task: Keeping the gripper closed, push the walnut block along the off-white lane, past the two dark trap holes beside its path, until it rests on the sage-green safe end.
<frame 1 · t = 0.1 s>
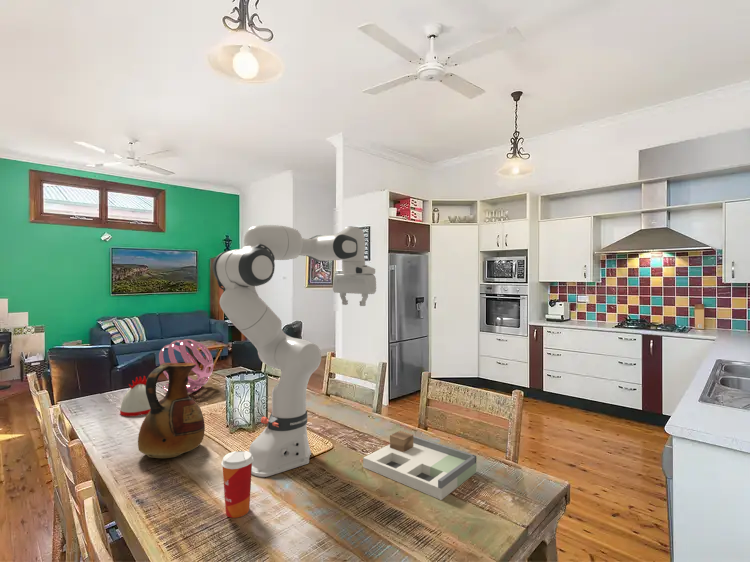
hand: (353, 305, 156), 48 cm above the table, tool pointing down, fingers open, 8 cm apart
paper cup: (237, 512, 101), on the table
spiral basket: (187, 392, 206), on the table
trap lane: (419, 469, 123), on the table
walnut block: (401, 447, 132), point 3 cm above the table, touching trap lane
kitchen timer: (138, 411, 177), on the table
ceramic pitcher: (172, 452, 136), on the table
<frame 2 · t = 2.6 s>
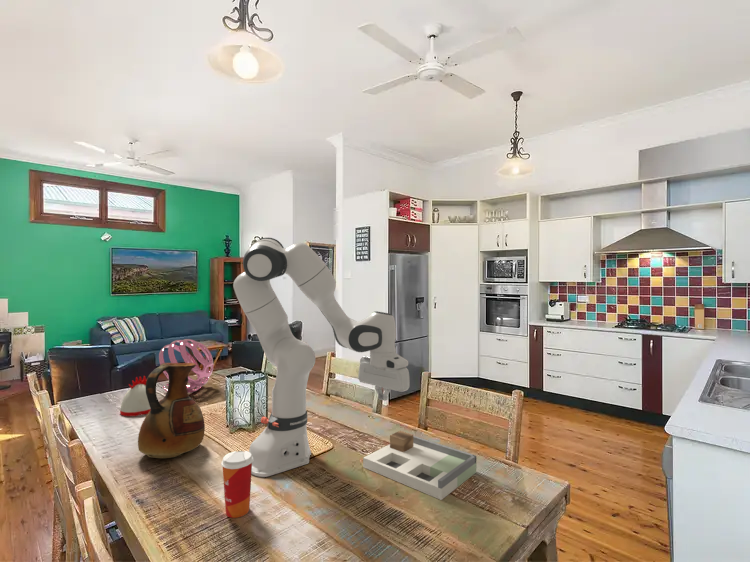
hand: (382, 399, 137), 17 cm above the table, tool pointing down, fingers closed
nothing on the table moved.
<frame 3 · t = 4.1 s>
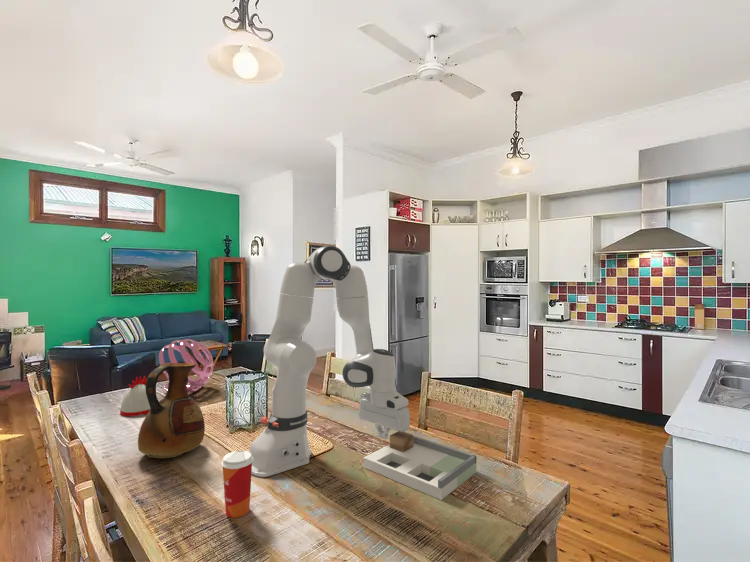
hand: (383, 437, 138), 4 cm above the table, tool pointing down, fingers closed
nothing on the table moved.
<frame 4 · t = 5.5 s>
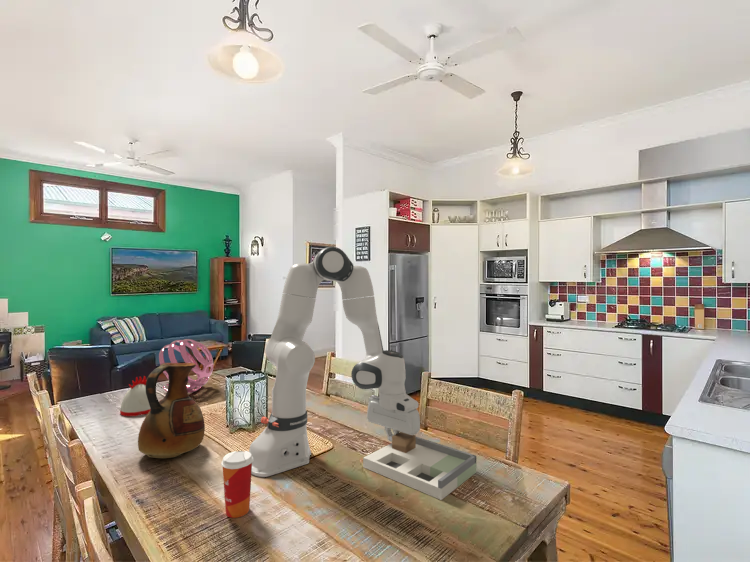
hand: (392, 440, 135), 4 cm above the table, tool pointing down, fingers closed
walnut block: (403, 448, 132), point 3 cm above the table, touching gripper, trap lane
everything else where it was.
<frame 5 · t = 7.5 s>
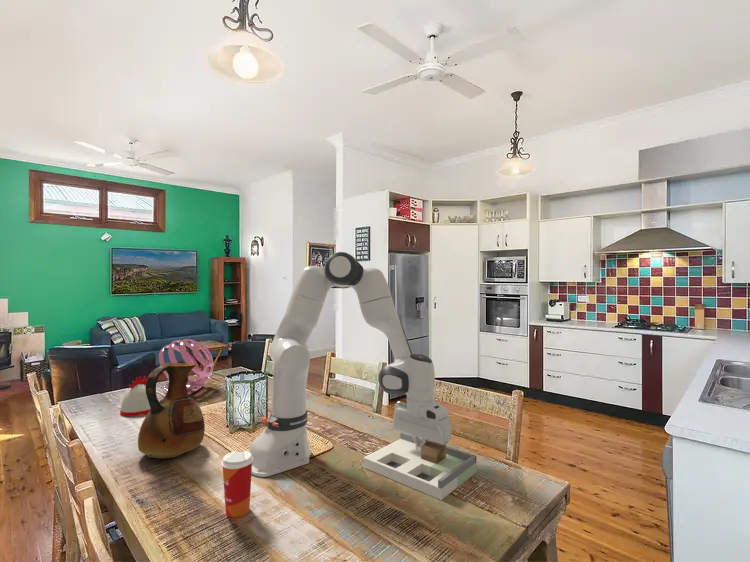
hand: (420, 450, 128), 4 cm above the table, tool pointing down, fingers closed
walnut block: (433, 458, 124), point 3 cm above the table, touching gripper, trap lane
everything else where it was.
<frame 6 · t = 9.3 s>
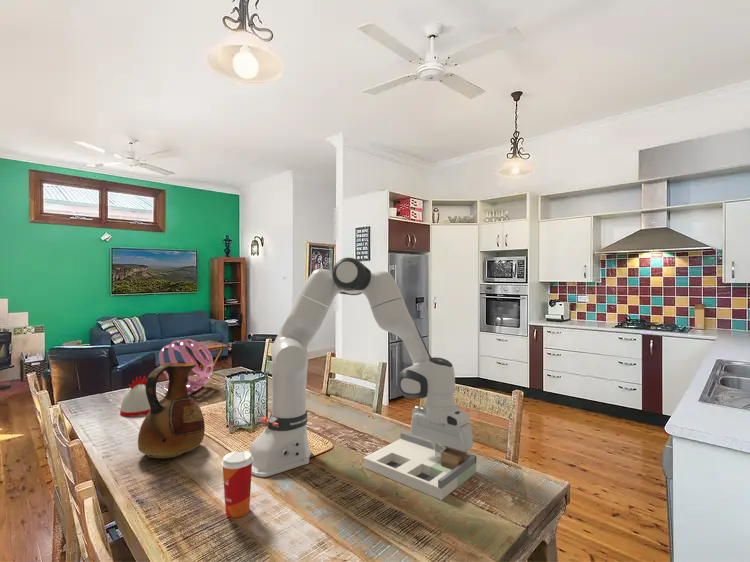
hand: (440, 457, 123), 4 cm above the table, tool pointing down, fingers closed
walnut block: (453, 465, 120), point 3 cm above the table, touching gripper, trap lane
everything else where it was.
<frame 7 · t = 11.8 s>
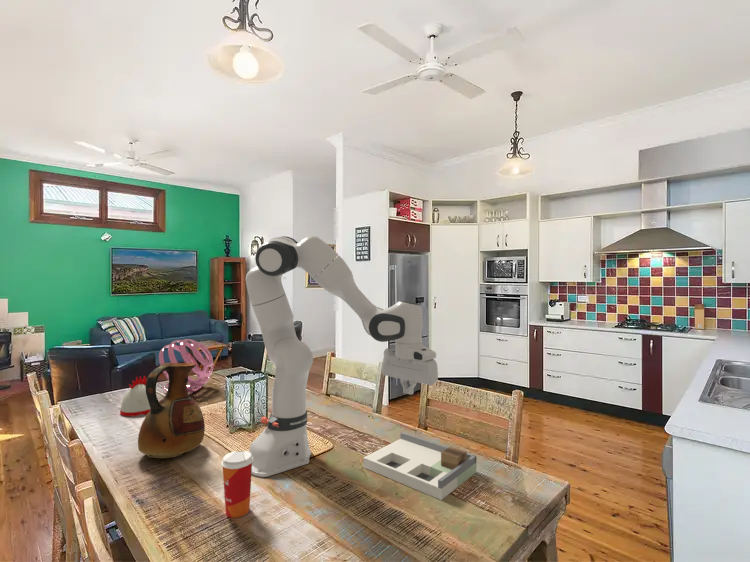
hand: (408, 393, 131), 21 cm above the table, tool pointing down, fingers closed
walnut block: (453, 465, 120), point 3 cm above the table, touching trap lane
everything else where it was.
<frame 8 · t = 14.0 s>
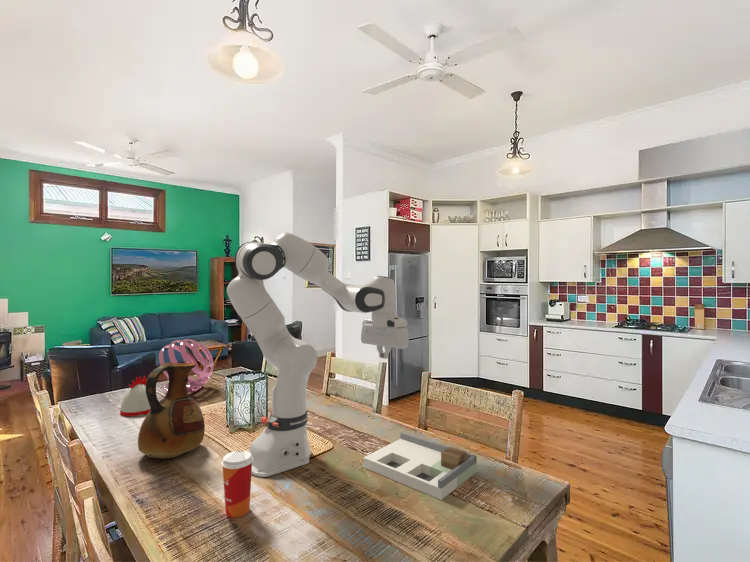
hand: (383, 358, 148), 29 cm above the table, tool pointing down, fingers closed
nothing on the table moved.
at the end: walnut block 0.9 cm from the target spot, point 3.0 cm above the table; walnut block tilted 0° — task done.
